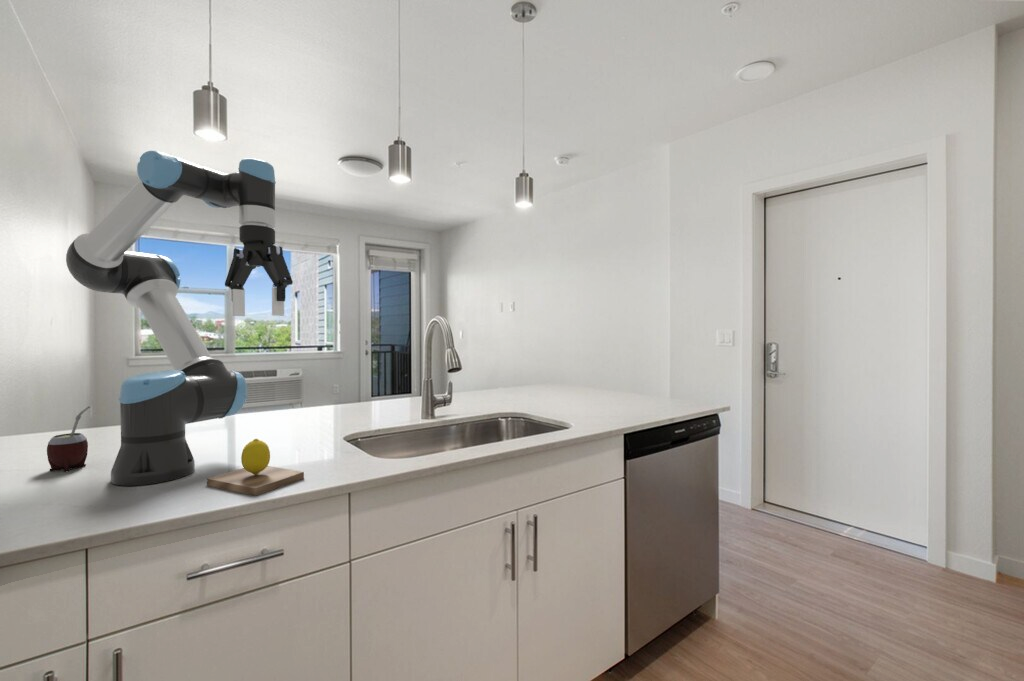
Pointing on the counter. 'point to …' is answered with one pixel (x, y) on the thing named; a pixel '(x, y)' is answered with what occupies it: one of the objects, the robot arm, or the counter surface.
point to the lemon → (255, 456)
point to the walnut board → (255, 480)
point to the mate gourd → (68, 449)
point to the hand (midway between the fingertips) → (257, 316)
